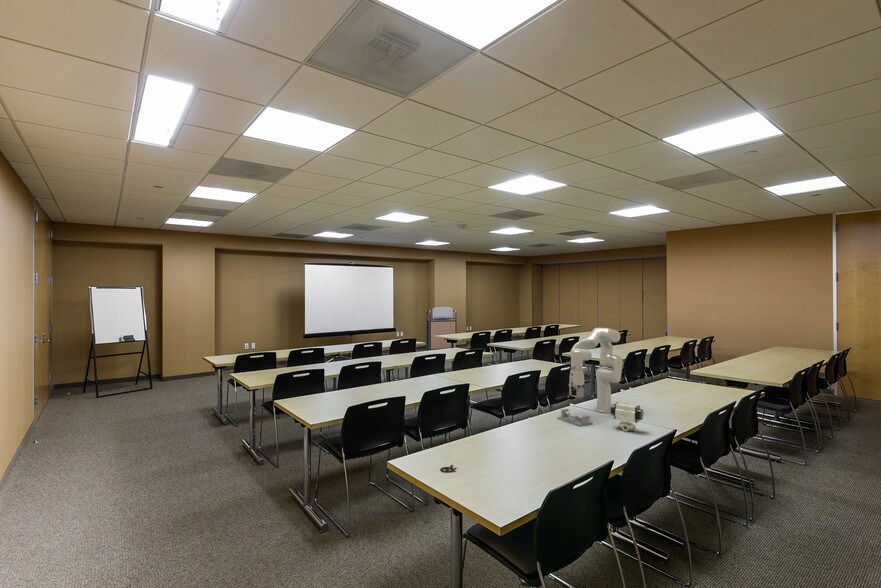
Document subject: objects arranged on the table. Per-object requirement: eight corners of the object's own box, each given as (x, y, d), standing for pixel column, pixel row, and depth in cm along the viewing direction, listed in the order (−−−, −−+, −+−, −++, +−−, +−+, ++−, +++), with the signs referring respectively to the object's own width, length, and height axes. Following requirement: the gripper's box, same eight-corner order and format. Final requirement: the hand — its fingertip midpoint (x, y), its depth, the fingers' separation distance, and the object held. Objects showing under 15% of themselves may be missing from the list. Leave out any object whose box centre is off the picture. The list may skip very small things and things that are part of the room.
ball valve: (609, 428, 271) (610, 401, 271) (614, 425, 278) (614, 398, 278) (639, 434, 260) (640, 405, 260) (643, 431, 266) (643, 403, 266)
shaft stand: (557, 418, 292) (557, 410, 292) (570, 416, 298) (570, 407, 298) (580, 426, 275) (580, 417, 275) (592, 424, 281) (592, 415, 281)
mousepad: (449, 465, 212) (449, 464, 212) (461, 469, 207) (461, 468, 207) (437, 471, 205) (437, 469, 205) (450, 475, 200) (450, 474, 200)
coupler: (583, 396, 285) (583, 388, 285) (578, 397, 282) (578, 388, 282) (574, 394, 292) (574, 385, 292) (569, 395, 289) (569, 386, 289)
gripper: (572, 370, 280) (572, 397, 279) (589, 368, 289) (589, 394, 289) (563, 368, 286) (563, 395, 286) (580, 366, 295) (580, 392, 295)
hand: (576, 394), depth 287 cm, fingers closed on coupler, 5 cm apart
